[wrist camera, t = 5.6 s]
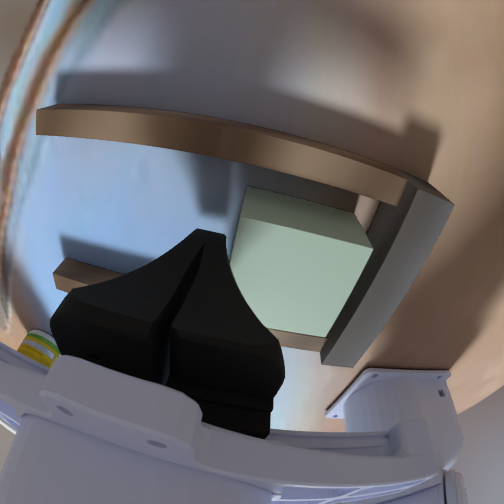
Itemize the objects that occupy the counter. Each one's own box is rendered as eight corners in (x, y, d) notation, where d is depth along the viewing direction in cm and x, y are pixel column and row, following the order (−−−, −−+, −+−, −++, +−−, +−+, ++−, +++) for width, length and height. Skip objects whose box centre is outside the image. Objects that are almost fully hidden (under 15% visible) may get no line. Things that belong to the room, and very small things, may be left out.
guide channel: (427, 182, 11) (454, 204, 9) (346, 335, 17) (353, 367, 15) (57, 104, 10) (23, 113, 8) (68, 272, 16) (49, 298, 14)
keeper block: (354, 213, 13) (373, 249, 10) (318, 295, 15) (325, 337, 13) (247, 186, 12) (240, 216, 10) (226, 276, 15) (218, 317, 13)
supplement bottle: (21, 327, 20) (-24, 403, 12) (51, 327, 20) (1, 419, 11) (51, 363, 23) (16, 437, 15) (84, 367, 22) (48, 453, 14)
